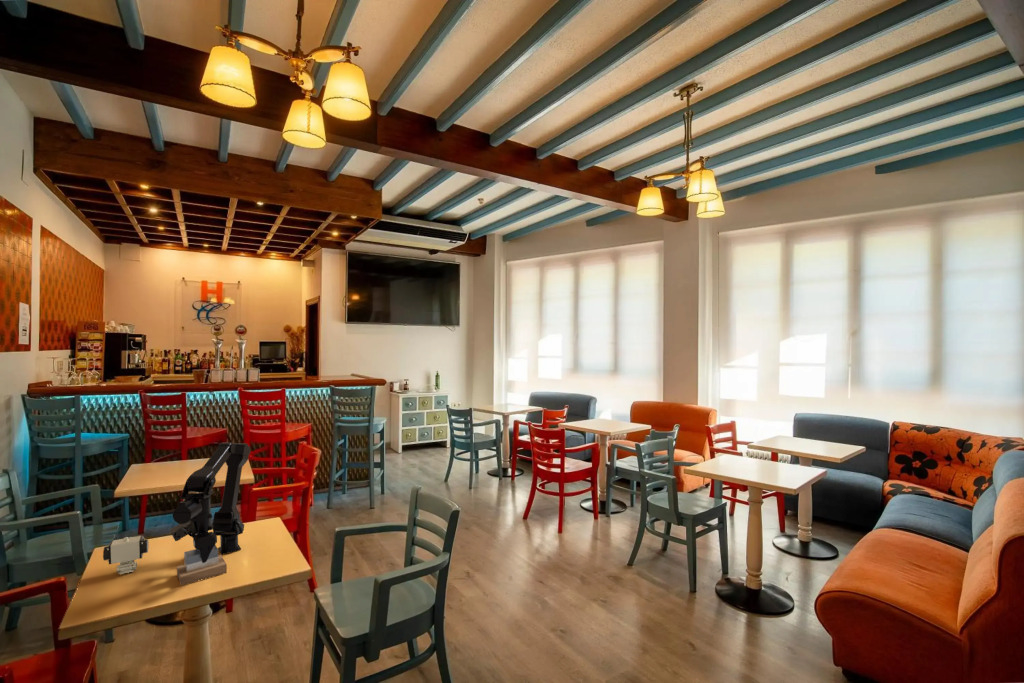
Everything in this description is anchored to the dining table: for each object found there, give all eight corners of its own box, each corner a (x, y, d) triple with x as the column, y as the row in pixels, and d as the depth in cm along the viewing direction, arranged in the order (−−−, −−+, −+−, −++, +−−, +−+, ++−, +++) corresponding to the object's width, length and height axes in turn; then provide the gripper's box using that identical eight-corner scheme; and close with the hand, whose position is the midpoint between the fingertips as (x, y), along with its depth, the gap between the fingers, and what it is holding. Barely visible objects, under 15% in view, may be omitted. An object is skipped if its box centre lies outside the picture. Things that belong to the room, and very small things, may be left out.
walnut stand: (176, 575, 167) (176, 566, 167) (221, 563, 176) (220, 554, 176) (180, 586, 161) (180, 576, 160) (226, 572, 169) (226, 564, 169)
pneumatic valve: (147, 570, 170) (146, 536, 170) (103, 579, 164) (102, 543, 164) (149, 564, 175) (148, 530, 174) (106, 572, 169) (106, 537, 168)
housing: (215, 558, 173) (215, 544, 173) (218, 563, 169) (218, 549, 169) (184, 566, 167) (184, 552, 167) (186, 572, 163) (186, 557, 163)
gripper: (168, 509, 169) (169, 554, 170) (175, 527, 155) (177, 576, 156) (206, 501, 176) (206, 545, 177) (216, 517, 162) (217, 564, 163)
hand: (201, 557), depth 168 cm, fingers open, 9 cm apart
